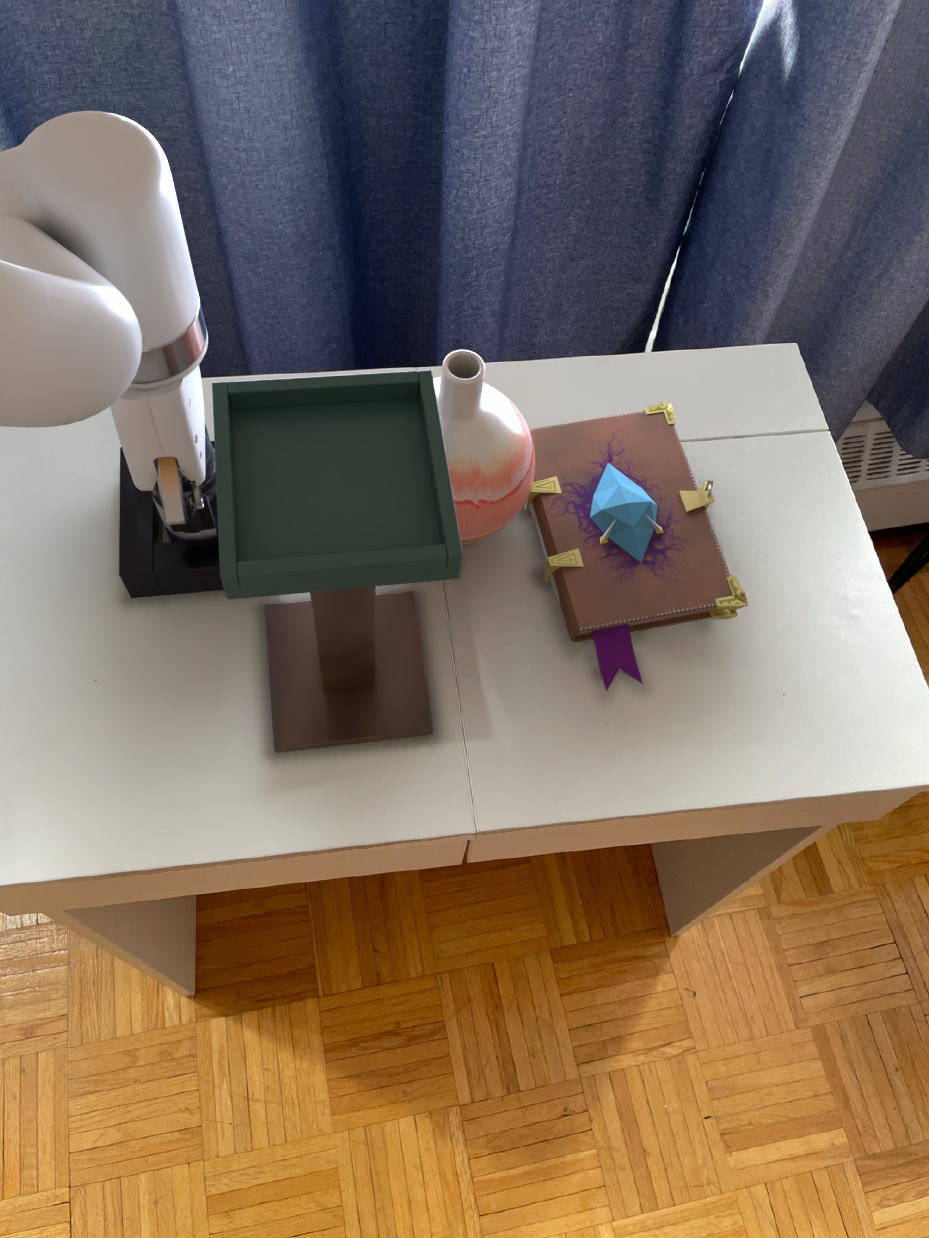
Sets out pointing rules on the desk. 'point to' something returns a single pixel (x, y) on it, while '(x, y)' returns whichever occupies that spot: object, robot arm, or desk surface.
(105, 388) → the robot arm
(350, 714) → the stand
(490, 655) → the desk surface
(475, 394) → the vase
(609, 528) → the book
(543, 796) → the desk surface
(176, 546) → the holder
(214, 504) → the pill bottle
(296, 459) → the tray
